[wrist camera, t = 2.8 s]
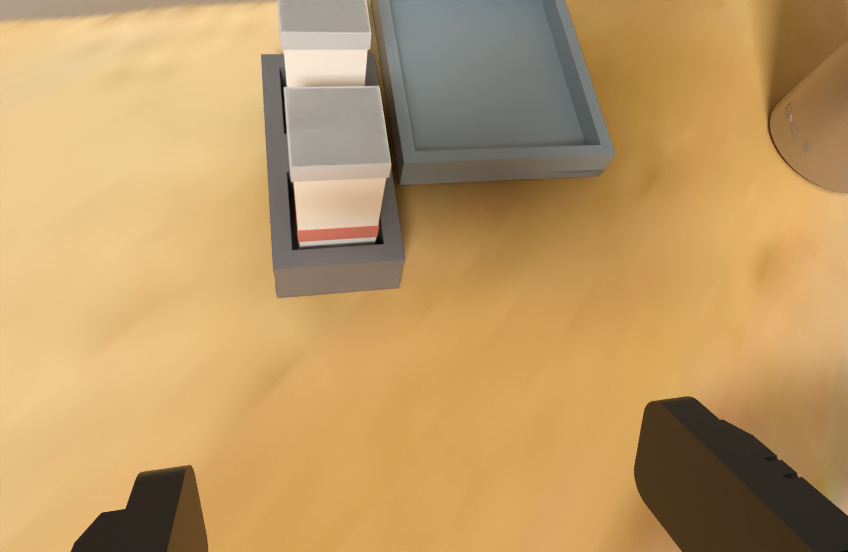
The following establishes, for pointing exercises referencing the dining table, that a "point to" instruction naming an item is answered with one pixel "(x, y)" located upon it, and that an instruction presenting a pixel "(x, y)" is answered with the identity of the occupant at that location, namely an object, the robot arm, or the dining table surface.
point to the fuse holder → (291, 265)
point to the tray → (488, 91)
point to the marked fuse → (337, 163)
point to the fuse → (324, 42)
